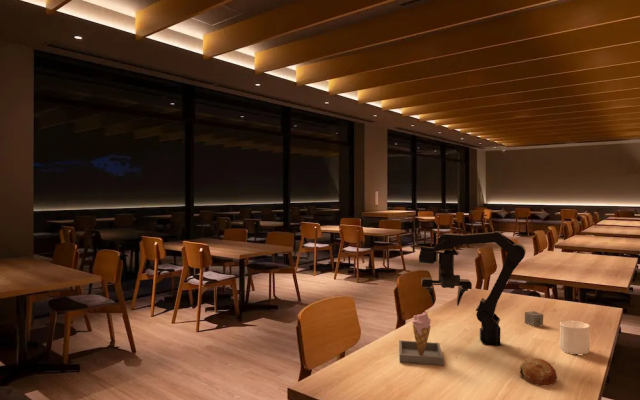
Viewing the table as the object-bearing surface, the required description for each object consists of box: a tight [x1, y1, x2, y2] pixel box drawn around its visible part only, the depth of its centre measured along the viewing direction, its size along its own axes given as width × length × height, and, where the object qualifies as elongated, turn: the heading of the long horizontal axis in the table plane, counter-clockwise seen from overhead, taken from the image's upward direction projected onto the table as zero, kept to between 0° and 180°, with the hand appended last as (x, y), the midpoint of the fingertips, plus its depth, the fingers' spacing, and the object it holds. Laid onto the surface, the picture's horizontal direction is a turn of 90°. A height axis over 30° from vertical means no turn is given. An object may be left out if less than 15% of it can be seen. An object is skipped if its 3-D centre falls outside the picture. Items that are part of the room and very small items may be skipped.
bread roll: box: [519, 357, 558, 386], centre depth 131 cm, size 10×10×8 cm
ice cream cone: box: [411, 311, 432, 355], centre depth 148 cm, size 7×6×15 cm
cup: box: [559, 319, 591, 355], centre depth 154 cm, size 10×10×10 cm
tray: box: [398, 340, 444, 367], centre depth 148 cm, size 14×14×2 cm
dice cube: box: [524, 310, 544, 327], centre depth 185 cm, size 5×5×5 cm
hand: (445, 304), depth 170 cm, fingers open, 9 cm apart
